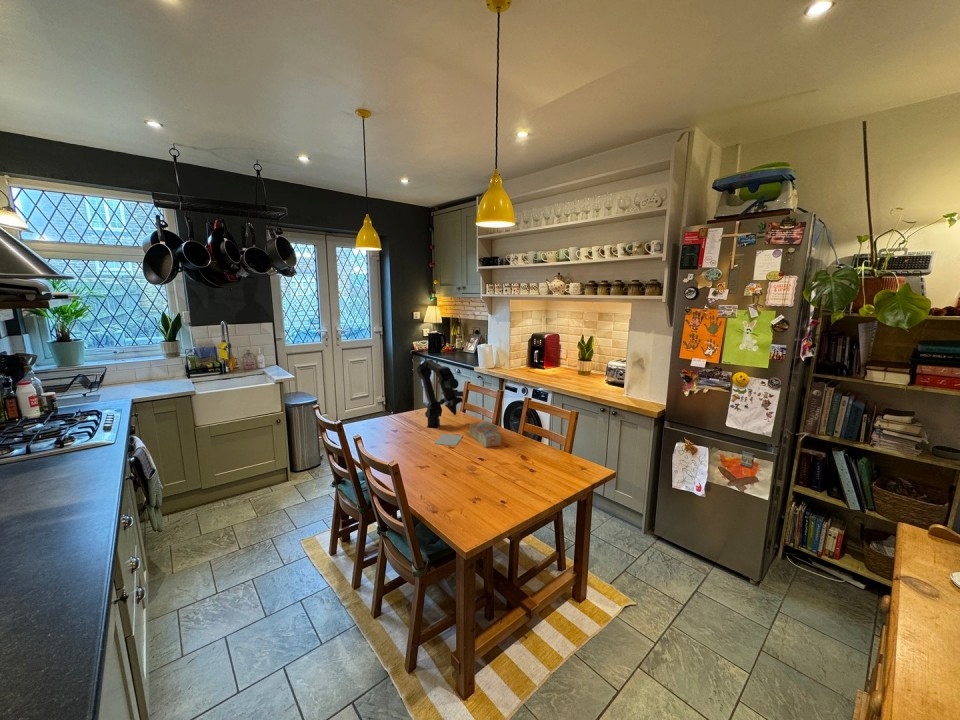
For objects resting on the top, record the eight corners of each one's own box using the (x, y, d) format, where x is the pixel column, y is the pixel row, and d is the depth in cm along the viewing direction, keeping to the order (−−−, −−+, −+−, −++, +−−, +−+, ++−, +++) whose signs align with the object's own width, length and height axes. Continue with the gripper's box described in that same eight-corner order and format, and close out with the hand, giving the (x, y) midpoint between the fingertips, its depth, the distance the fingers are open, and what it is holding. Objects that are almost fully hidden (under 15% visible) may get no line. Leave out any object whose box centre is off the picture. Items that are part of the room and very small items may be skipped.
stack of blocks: (485, 447, 205) (505, 444, 210) (485, 436, 204) (505, 433, 209) (469, 434, 224) (488, 430, 229) (469, 423, 223) (488, 420, 228)
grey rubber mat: (434, 443, 210) (434, 443, 210) (443, 434, 223) (443, 433, 223) (455, 446, 207) (455, 445, 207) (462, 436, 221) (462, 435, 221)
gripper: (466, 384, 214) (474, 410, 216) (451, 384, 230) (459, 409, 232) (449, 391, 209) (458, 417, 210) (435, 391, 225) (444, 416, 226)
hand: (455, 414), depth 220 cm, fingers closed
